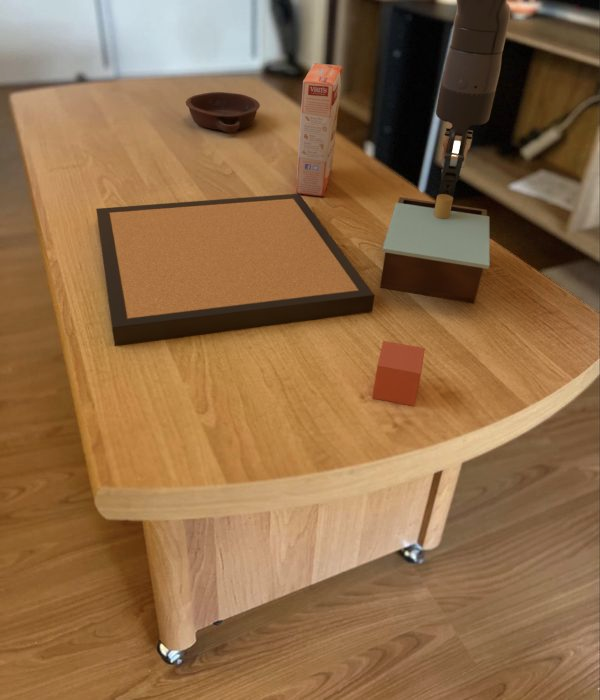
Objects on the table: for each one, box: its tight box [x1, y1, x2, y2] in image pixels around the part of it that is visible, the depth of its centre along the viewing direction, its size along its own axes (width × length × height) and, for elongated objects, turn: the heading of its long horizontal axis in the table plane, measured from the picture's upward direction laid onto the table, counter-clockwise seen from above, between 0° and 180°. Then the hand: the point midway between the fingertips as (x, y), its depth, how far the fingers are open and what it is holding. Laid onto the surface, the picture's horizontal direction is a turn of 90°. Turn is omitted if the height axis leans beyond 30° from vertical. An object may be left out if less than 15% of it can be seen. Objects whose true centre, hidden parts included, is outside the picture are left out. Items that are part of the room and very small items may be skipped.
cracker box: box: [295, 62, 343, 198], centre depth 120 cm, size 14×6×21 cm, turn 171°
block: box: [371, 340, 426, 407], centre depth 75 cm, size 5×5×5 cm
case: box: [379, 196, 488, 304], centre depth 98 cm, size 14×16×8 cm
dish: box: [185, 91, 261, 134], centre depth 151 cm, size 18×22×5 cm
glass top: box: [381, 194, 491, 270], centre depth 91 cm, size 14×16×4 cm
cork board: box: [95, 193, 375, 347], centre depth 97 cm, size 36×3×35 cm
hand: (444, 201), depth 98 cm, fingers closed
